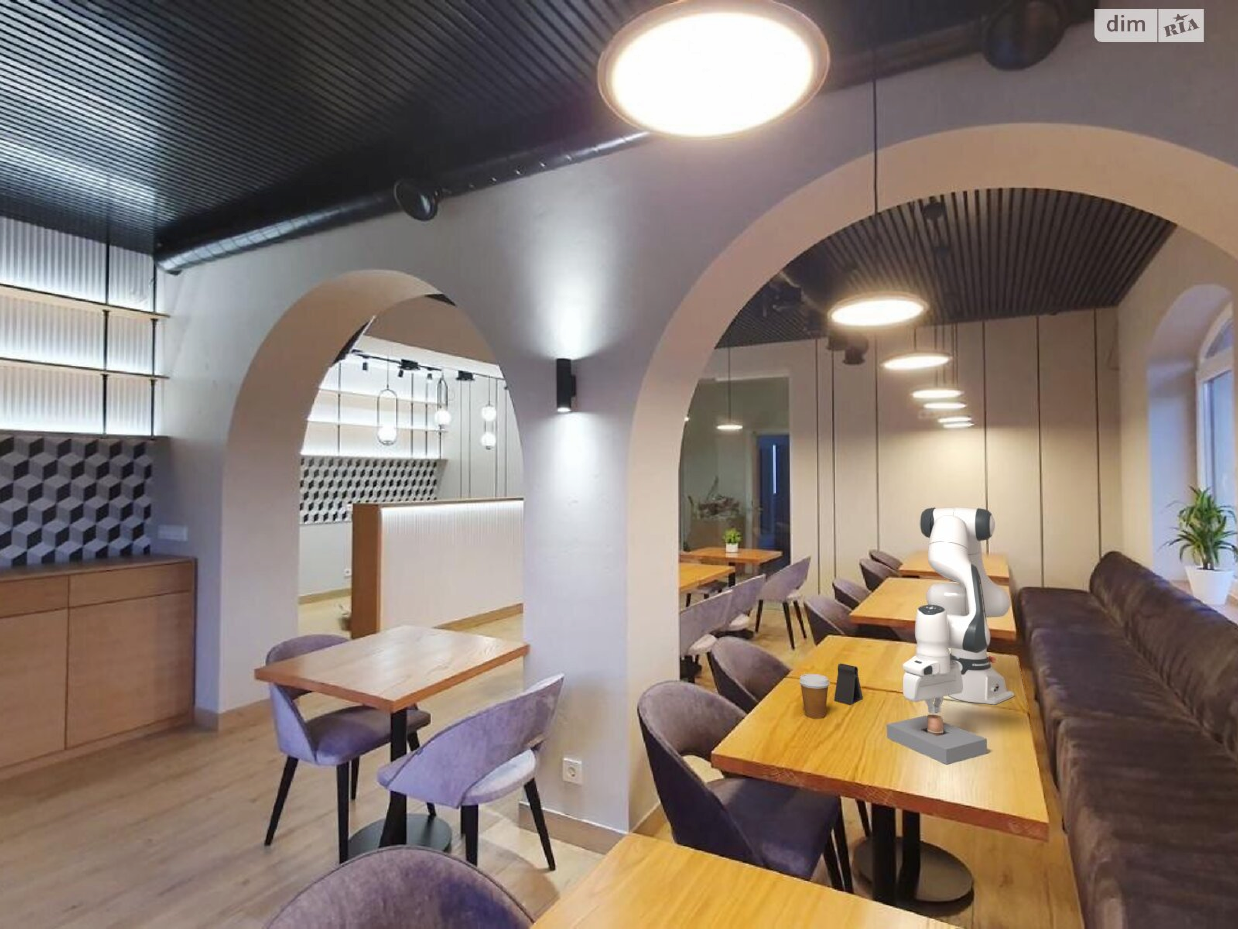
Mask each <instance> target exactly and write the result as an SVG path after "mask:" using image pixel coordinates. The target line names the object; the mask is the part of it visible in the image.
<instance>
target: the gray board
mask: <svg viewBox="0 0 1238 929" xmlns="http://www.w3.org/2000/svg"><path fill="white" fill-rule="evenodd" d="M886 739H888V740H890V741H893V742H895V743H898V744H900V745H901V746H904V747H907V748H908V749H911V750H913V751H915V752H917V753H919V754H921V755H924V756H926V757H929V758H930V759H933V760H935V761H937V762H939V763H941V764H944V765H946V766H947V765H950V764H954V763H958V762H962V761H965V760H969V759H972V758H973V759H974V758H976V757H980V756H983V755H986V754H988V739H987V738H985V737H983V736H980V735H977V734H976V733H974V732H973V733H972V732H970V731H968V730H965V729H963V728H959V727H957V726H954V725H951V724H948V723H946V722H944V721H943V735H940V736H935V735H932V734H930V733H928V731H927V715H926V714H925V715H922V716H917V717H913V718H908V719H904V720H900V721H895V722H891V723H887V724H886Z"/></svg>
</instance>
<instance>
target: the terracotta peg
mask: <svg viewBox="0 0 1238 929" xmlns="http://www.w3.org/2000/svg"><path fill="white" fill-rule="evenodd" d="M926 716H927V731H928V733H930V734H932V735H935V736H940V735H943V722H944V721H943V720H944V719H943V716H941V715H937V714H927V715H926Z"/></svg>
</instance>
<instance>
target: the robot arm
mask: <svg viewBox="0 0 1238 929" xmlns="http://www.w3.org/2000/svg"><path fill="white" fill-rule="evenodd" d="M919 528H920V532H921V534H922V535H923V536H924V537H925V538H928V539H929V541H928V550H927V560H928V564H929V566H930V567H931V568H932V571H934V572H936V573H937V574H938V575H940V576H942V577H943V578H945V579H948V580H950V581H953V582H940V583H939V582H938V583H933V584H931V585H930V586H929V588H928V589H927V590H926V594H925V595H926V596H925V597H926V598H925V599H926V603H927V604H925V605H921V606H919V607H918V608H917V610H916V614H915V626H914V635H915V636H914V637H915V640H916V648H915V654H914V656H912V657H911V658H910V659H909V660H907V661H905V662H903V663H902V670H903V671H904V673H903V678H902V692H903V697H904V698H905V699H906V700H907V701H910V702H913V703H918V702H923V701H924V702H925V703H926V704H925V705H927V710H928V713H929V714H931V715H935V714H938V713H941V711H942V710H941V709H942V708H941V707H942V705H943V702H944V697H948V696H949V697H951V698H953V699H956V700H959V701H963V702H969V703H976V704H977V703H980V704H989V705H997V704H1000V703H1002V702H1004V701H1006V700H1008V699H1011V698H1014V697H1015V693H1014V692H1013V691H1011V690H1009V689H1007V688H1006V687H1007V684H1006V680H1005V677H1004V676H1003V675H1001V674H1000V673H998V671H996V670H995V669H994V668H993V667H992V665H991V663H992V664H995V663H996V661H997V660H996V657H995V656H990V655H988V652H987V648H989V647H990V643H991V632H990V628H989V625H988V620H987V618H1000V617H1004V616H1005V615H1006V614H1007V613H1009V610H1010V606H1011V599H1010V597H1009V595H1008V593H1007V592H1006V590H1004V589H1003V588H1002V587H1000V586H999V585H997V584H996V583H995V582H993V581H992V579H991V578H990V577H989V576H988V574H987V572H986V570H985V567H984V562H983V552H982V551H983V550H982V543H981V542H982V541H983V542H984V541H988V540H989V539H990V538H992V537H993V534H994V532H995V529H996V521H995V518H994V517H993V514H992V512H991V511H989V510H988V509H984V508H980V507H978V508H972V507H964V506H962V507H961V506H955V507H949V506H948V507H937V508H936V507H928V508H925V509H924V510H922V513H921V515H920V517H919Z"/></svg>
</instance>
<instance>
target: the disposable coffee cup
mask: <svg viewBox="0 0 1238 929" xmlns="http://www.w3.org/2000/svg"><path fill="white" fill-rule="evenodd" d="M798 682H799V684H800V689H801V697H802V704H803V709H804V710H803V711H804V715H805V716H806V717H808V718H812V719H823V718H825V717H826V709H827V703H828V702H827V701H828V692H829V686H830V684H831V683H830V681H829V678H828V677H827V676H825V675H822V674H817V673H806V674H802V675H800V678H799V680H798Z"/></svg>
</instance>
